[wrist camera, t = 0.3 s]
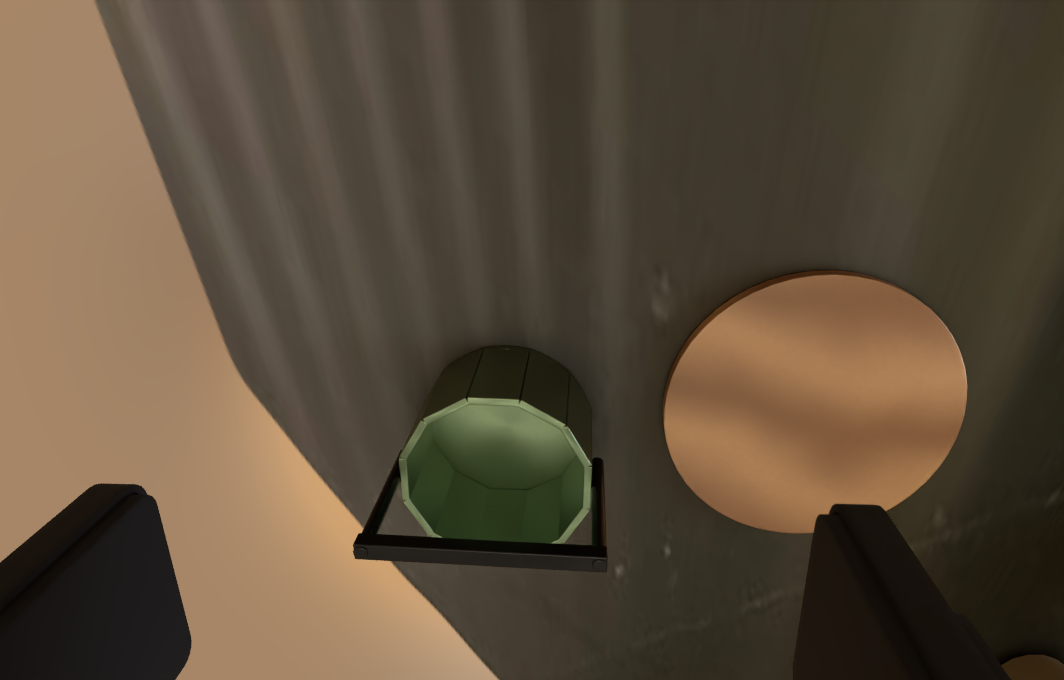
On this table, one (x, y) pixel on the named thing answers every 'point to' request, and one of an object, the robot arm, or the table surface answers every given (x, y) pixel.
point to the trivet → (813, 399)
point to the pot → (497, 470)
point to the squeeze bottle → (1034, 668)
